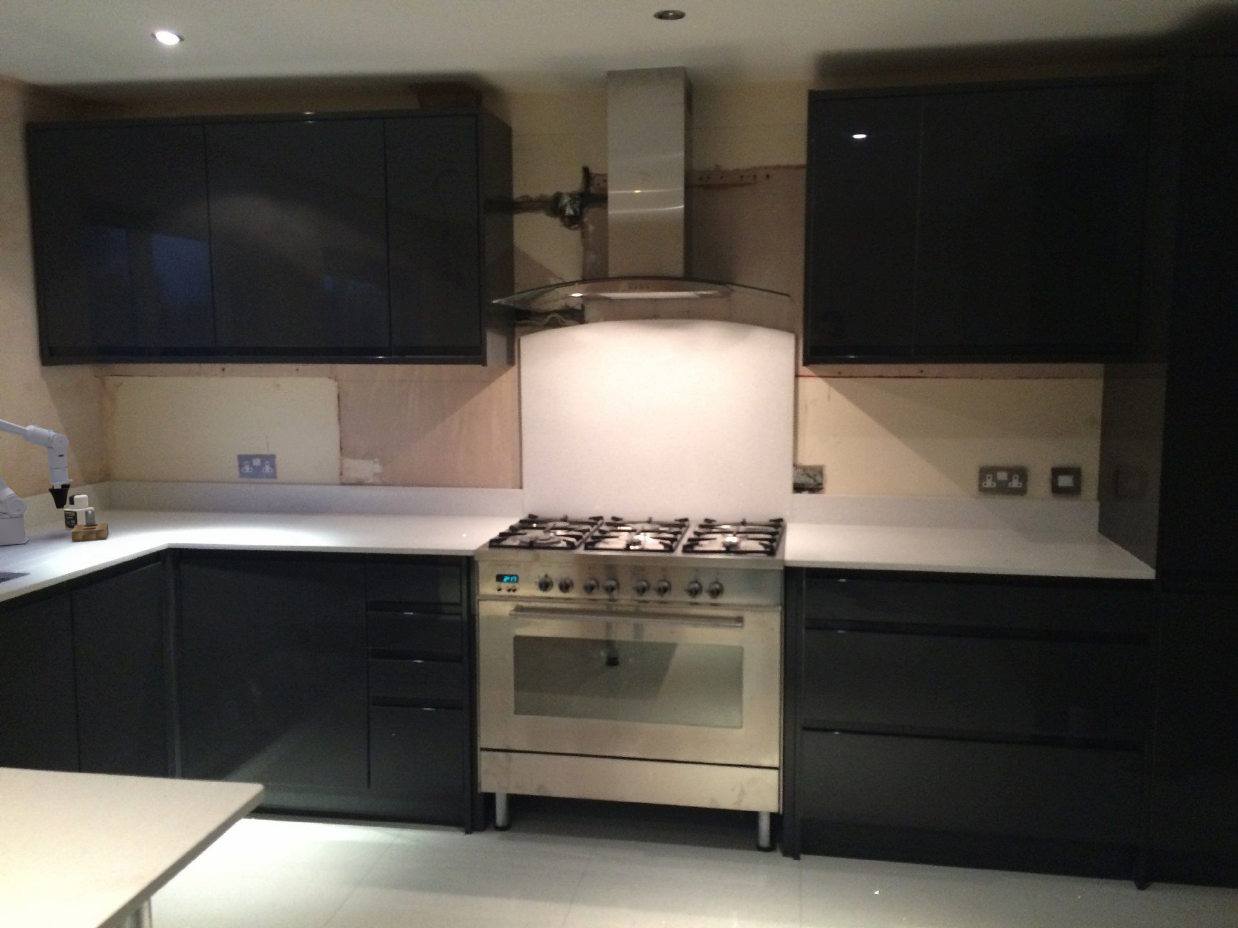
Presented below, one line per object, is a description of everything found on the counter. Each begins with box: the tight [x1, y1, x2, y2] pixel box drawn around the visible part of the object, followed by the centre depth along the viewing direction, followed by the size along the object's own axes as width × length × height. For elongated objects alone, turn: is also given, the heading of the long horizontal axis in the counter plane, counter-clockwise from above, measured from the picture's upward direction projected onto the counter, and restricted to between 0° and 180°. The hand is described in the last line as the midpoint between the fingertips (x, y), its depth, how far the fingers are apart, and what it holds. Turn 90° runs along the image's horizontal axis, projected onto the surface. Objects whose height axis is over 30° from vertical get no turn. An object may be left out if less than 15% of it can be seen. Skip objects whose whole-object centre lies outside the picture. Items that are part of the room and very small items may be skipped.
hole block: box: [71, 522, 109, 543], centre depth 342 cm, size 10×14×4 cm
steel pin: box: [85, 509, 97, 527], centre depth 345 cm, size 3×3×8 cm
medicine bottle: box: [63, 493, 97, 530], centre depth 360 cm, size 7×7×12 cm
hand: (61, 506), depth 346 cm, fingers open, 7 cm apart
